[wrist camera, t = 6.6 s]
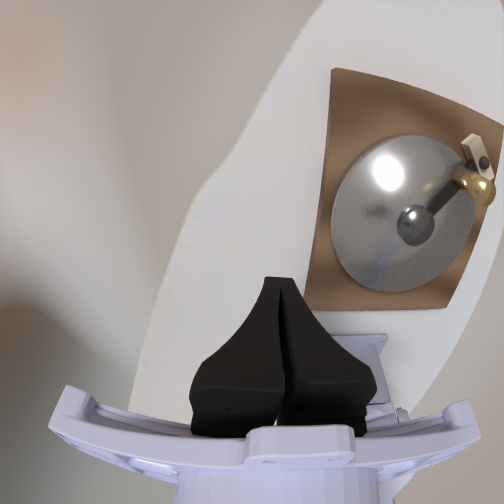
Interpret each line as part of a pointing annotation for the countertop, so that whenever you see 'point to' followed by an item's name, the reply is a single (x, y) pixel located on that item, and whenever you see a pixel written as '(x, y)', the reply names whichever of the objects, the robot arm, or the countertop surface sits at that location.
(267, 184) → the countertop surface
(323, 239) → the stand
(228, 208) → the countertop surface
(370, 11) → the countertop surface
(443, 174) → the cam dial
